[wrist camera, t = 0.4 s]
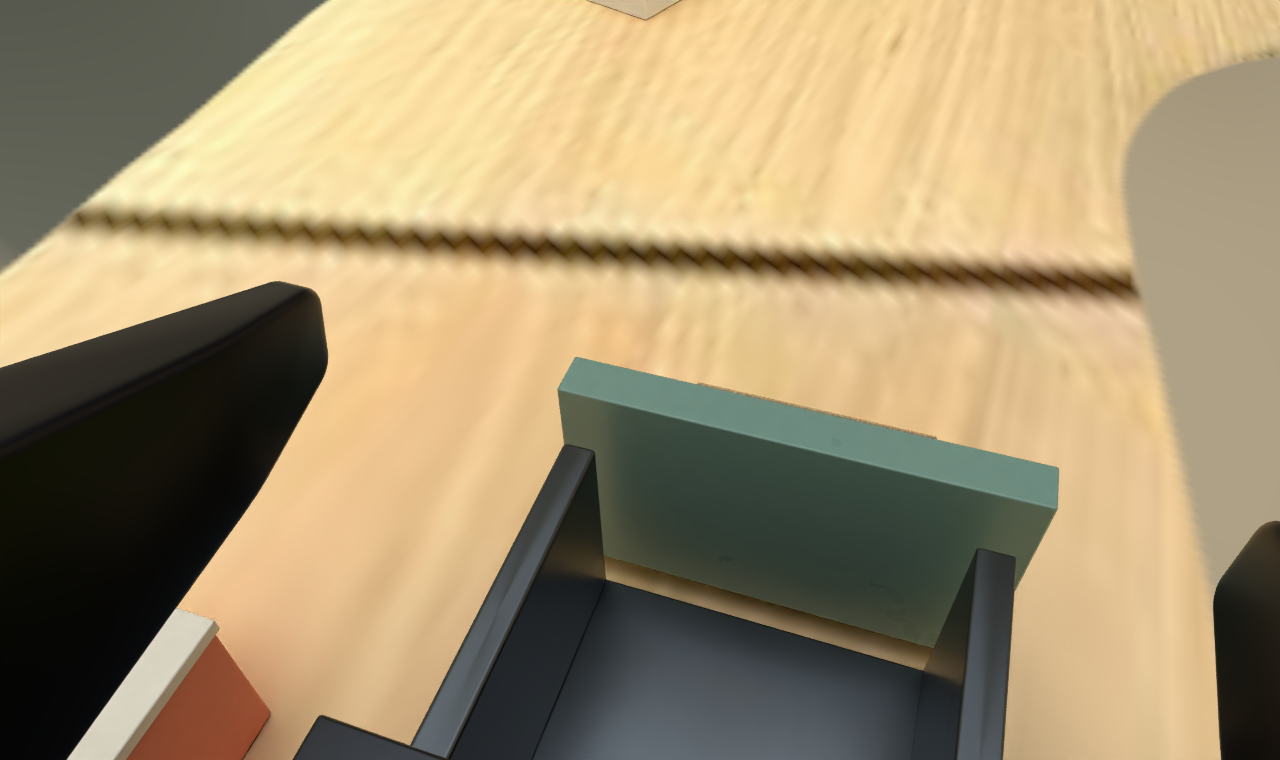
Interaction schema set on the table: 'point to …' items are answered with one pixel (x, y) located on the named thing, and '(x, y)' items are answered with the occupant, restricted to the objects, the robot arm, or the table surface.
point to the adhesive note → (637, 6)
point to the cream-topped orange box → (178, 702)
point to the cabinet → (354, 744)
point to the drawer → (745, 587)
